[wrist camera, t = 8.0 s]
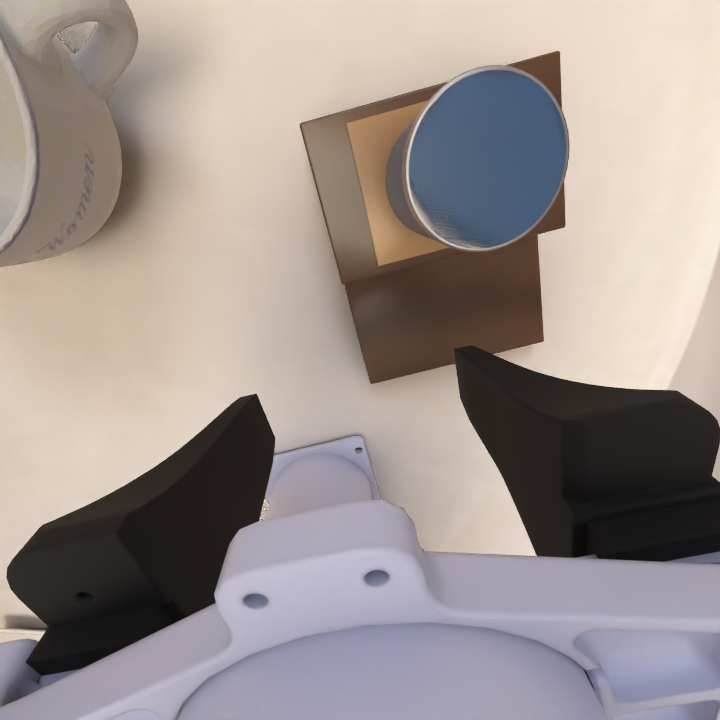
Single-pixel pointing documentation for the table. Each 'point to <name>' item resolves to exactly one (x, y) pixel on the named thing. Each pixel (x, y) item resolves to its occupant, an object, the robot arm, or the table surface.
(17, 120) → the teacup
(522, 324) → the step shelf
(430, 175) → the tea tin
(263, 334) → the table surface
